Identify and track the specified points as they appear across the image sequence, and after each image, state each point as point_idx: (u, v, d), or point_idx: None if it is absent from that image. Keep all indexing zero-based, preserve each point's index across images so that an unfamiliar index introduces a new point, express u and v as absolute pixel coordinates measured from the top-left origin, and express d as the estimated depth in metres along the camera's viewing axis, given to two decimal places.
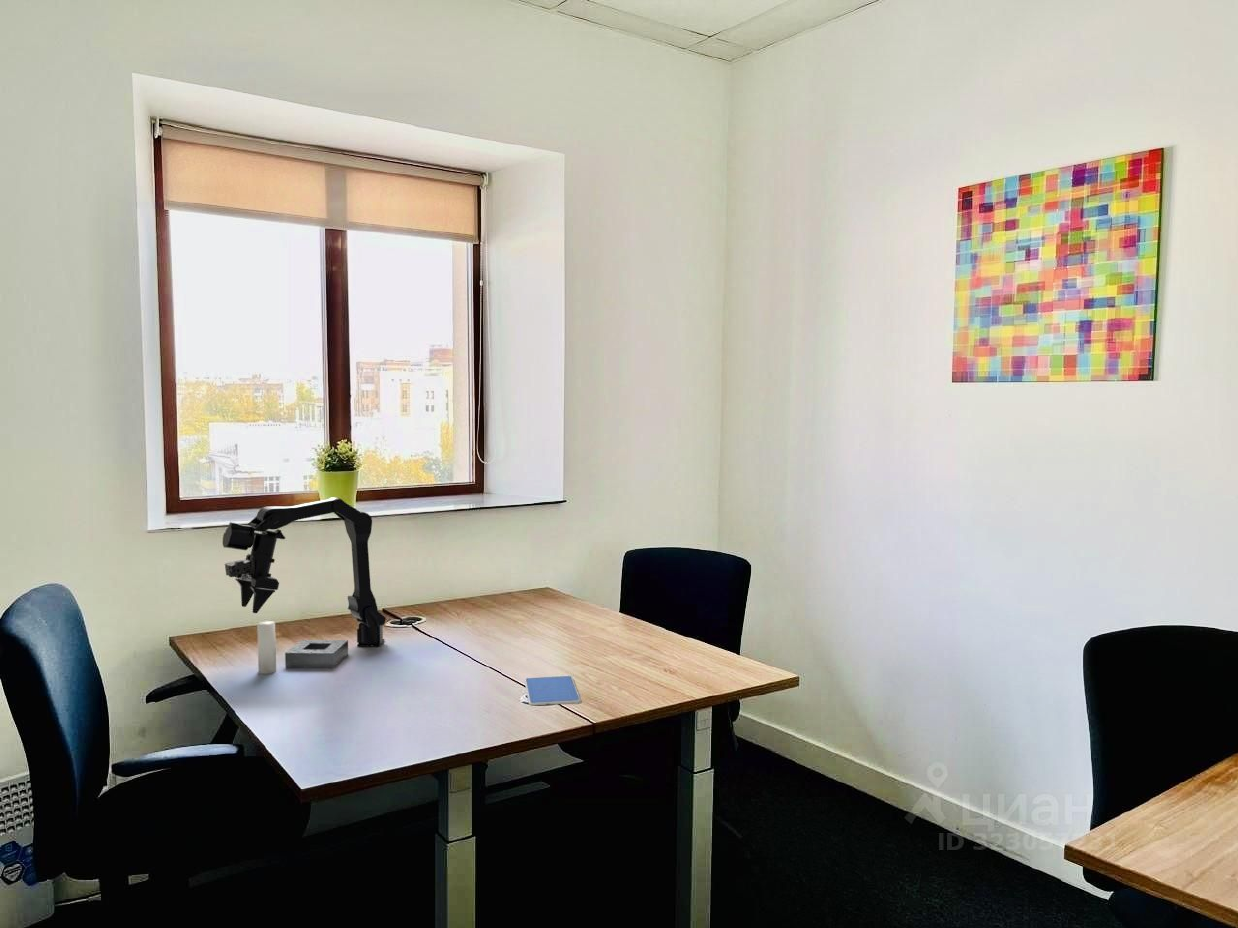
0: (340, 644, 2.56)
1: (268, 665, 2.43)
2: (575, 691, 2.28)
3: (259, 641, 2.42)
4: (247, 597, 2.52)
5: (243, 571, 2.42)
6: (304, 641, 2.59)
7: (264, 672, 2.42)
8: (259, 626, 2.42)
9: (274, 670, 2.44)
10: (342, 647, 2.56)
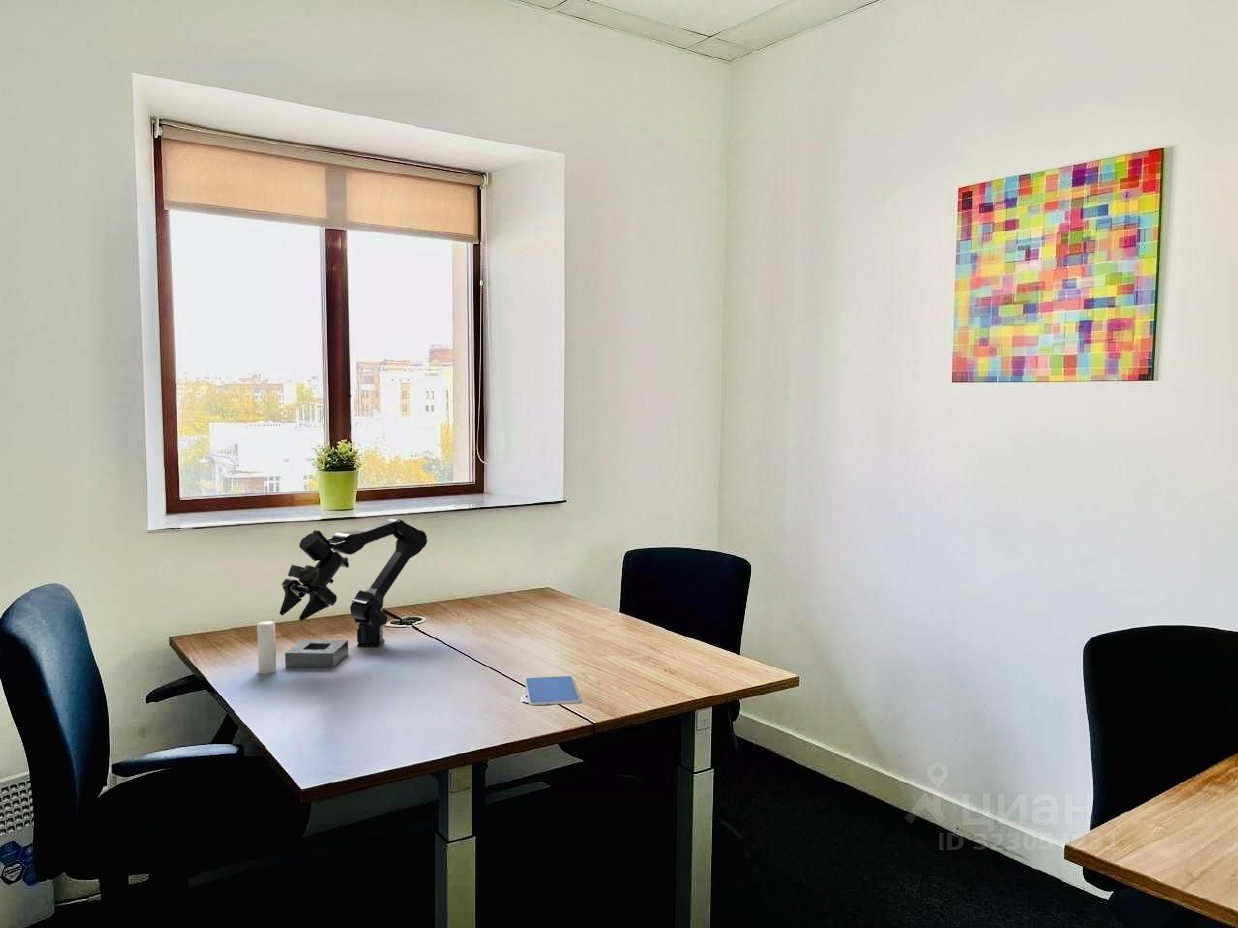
0: (340, 644, 2.56)
1: (268, 665, 2.43)
2: (575, 691, 2.28)
3: (259, 641, 2.42)
4: (287, 607, 2.54)
5: (310, 576, 2.49)
6: (304, 641, 2.59)
7: (264, 672, 2.42)
8: (259, 626, 2.42)
9: (274, 670, 2.44)
10: (342, 647, 2.56)
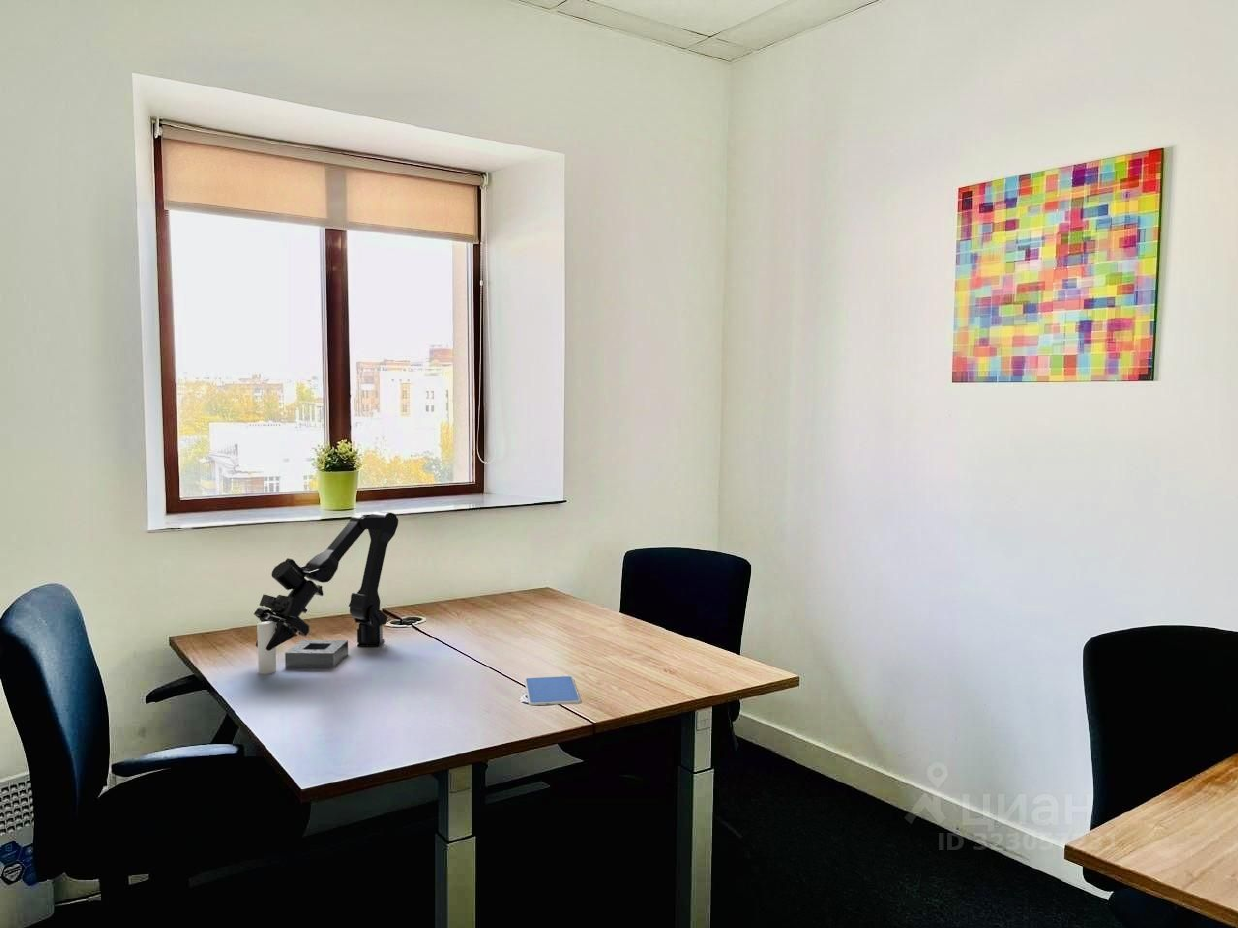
0: (340, 644, 2.56)
1: (268, 664, 2.43)
2: (575, 691, 2.28)
3: (259, 641, 2.42)
4: None
5: (282, 606, 2.42)
6: (304, 641, 2.59)
7: (264, 672, 2.42)
8: (259, 626, 2.42)
9: (274, 670, 2.44)
10: (342, 647, 2.56)
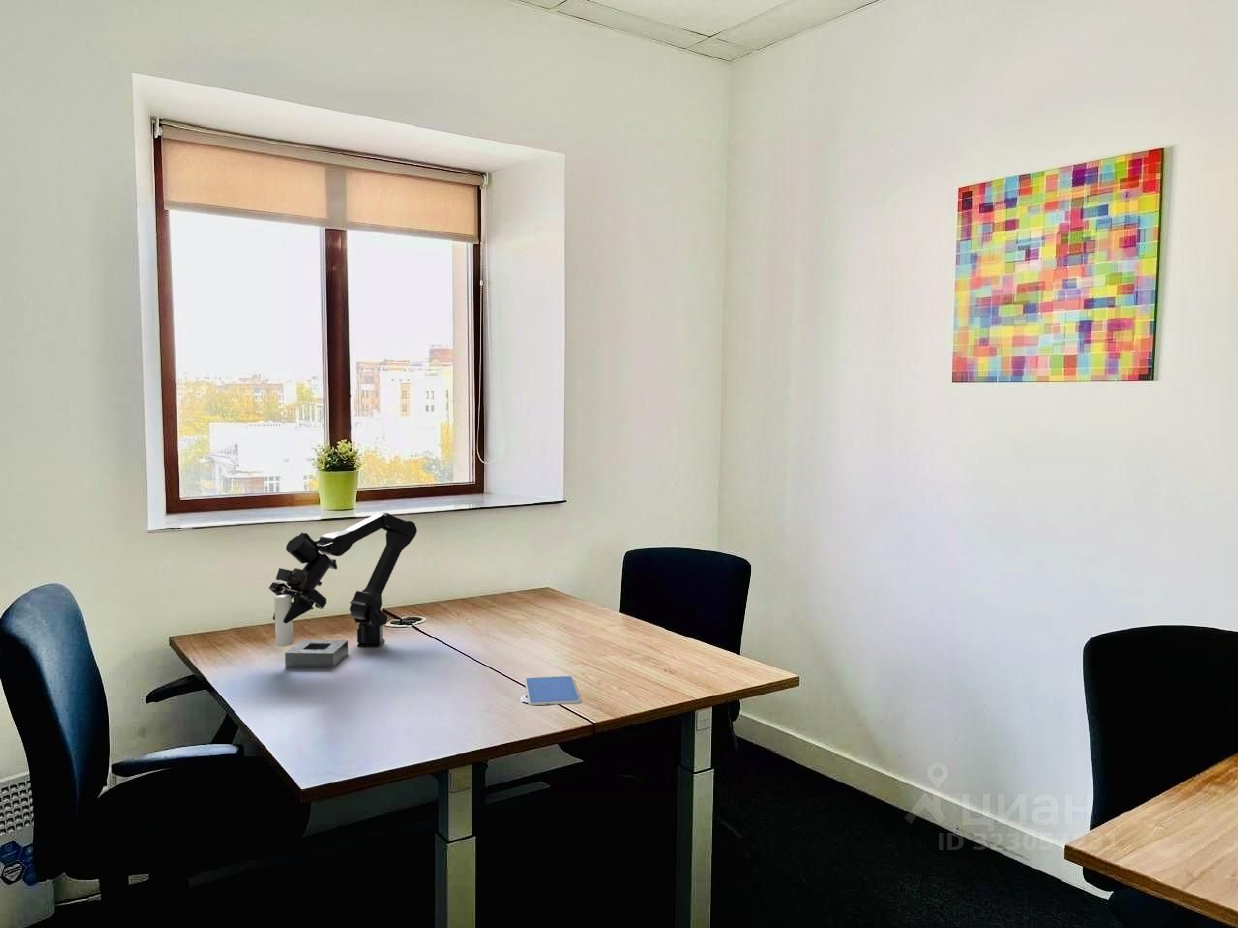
0: (340, 644, 2.56)
1: (286, 637, 2.46)
2: (575, 691, 2.28)
3: (276, 614, 2.45)
4: None
5: (299, 579, 2.45)
6: (304, 641, 2.59)
7: (282, 645, 2.45)
8: (276, 599, 2.44)
9: (291, 642, 2.47)
10: (342, 647, 2.56)
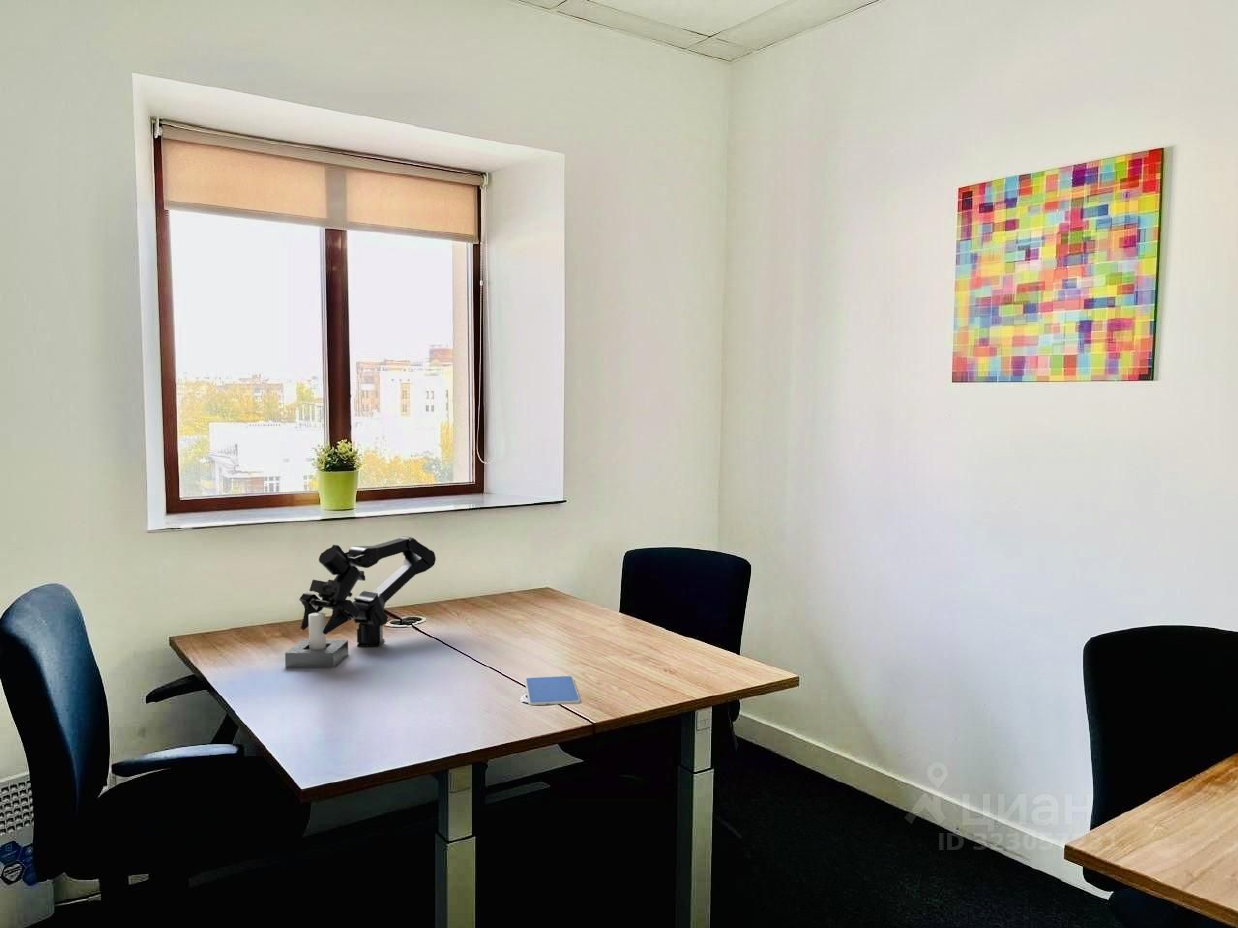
0: (340, 644, 2.56)
1: None
2: (575, 691, 2.28)
3: (311, 631, 2.52)
4: (307, 622, 2.57)
5: (333, 590, 2.53)
6: (304, 641, 2.59)
7: None
8: (311, 617, 2.51)
9: None
10: (342, 647, 2.56)
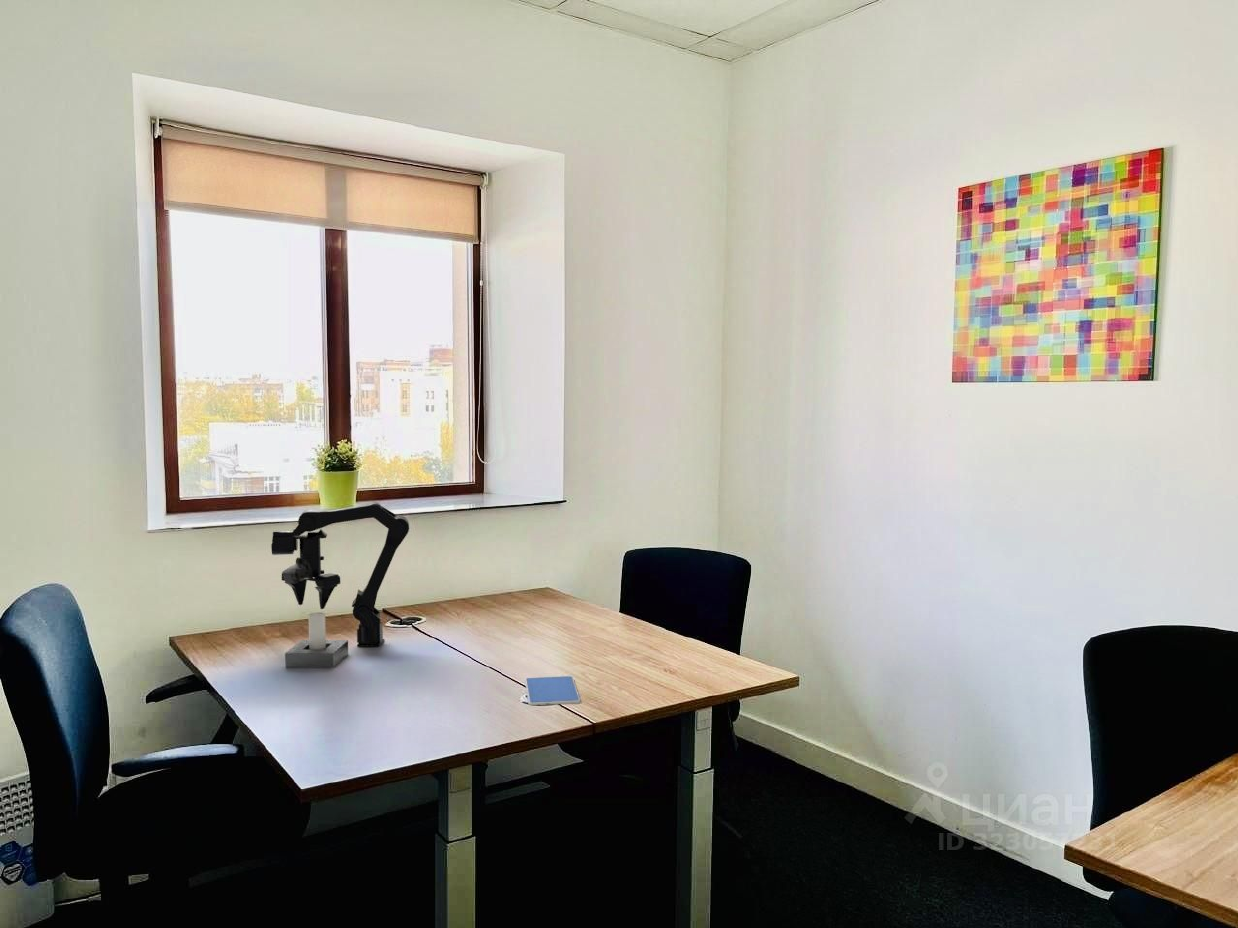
0: (340, 644, 2.56)
1: None
2: (575, 691, 2.28)
3: (311, 631, 2.52)
4: (301, 595, 2.69)
5: (306, 575, 2.59)
6: (304, 641, 2.59)
7: None
8: (311, 617, 2.51)
9: None
10: (342, 647, 2.56)
